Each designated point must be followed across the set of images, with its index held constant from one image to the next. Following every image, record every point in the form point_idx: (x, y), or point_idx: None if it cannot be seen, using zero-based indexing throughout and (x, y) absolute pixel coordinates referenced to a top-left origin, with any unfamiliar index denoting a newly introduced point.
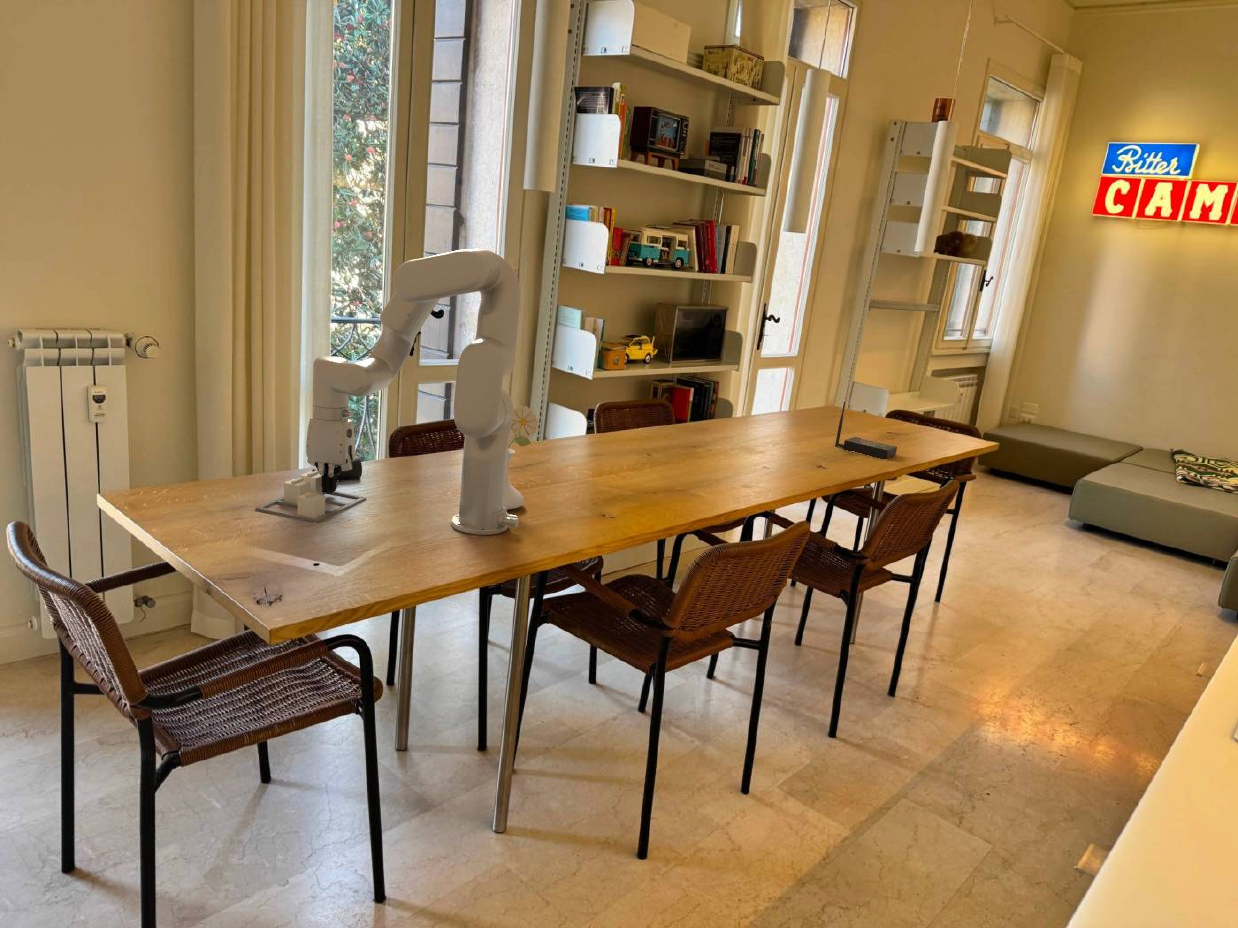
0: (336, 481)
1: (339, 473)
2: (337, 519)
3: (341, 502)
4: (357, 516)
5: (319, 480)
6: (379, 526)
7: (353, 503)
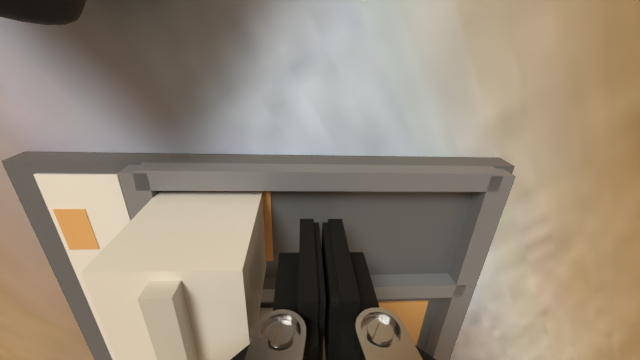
0: (370, 287)
1: (399, 319)
2: None
3: (423, 290)
4: (491, 283)
5: (252, 306)
6: (584, 316)
7: (477, 275)
